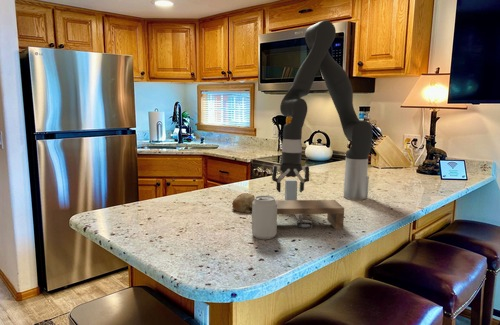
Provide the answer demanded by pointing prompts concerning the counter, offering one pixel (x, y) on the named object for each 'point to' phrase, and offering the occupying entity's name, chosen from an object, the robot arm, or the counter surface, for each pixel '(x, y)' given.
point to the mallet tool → (291, 193)
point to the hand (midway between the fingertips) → (289, 191)
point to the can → (264, 217)
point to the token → (304, 224)
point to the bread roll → (243, 202)
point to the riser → (314, 209)
